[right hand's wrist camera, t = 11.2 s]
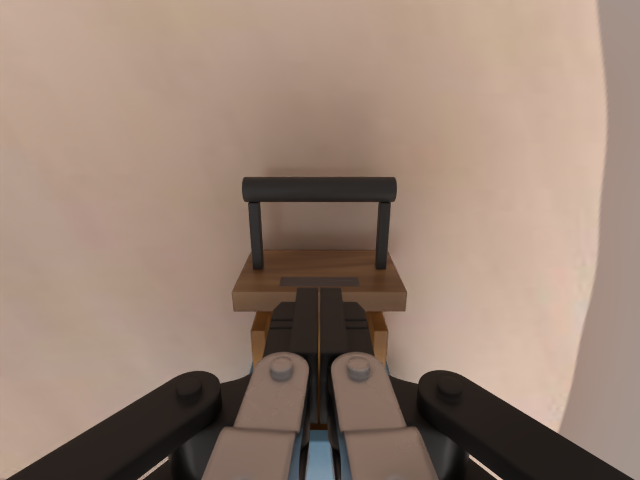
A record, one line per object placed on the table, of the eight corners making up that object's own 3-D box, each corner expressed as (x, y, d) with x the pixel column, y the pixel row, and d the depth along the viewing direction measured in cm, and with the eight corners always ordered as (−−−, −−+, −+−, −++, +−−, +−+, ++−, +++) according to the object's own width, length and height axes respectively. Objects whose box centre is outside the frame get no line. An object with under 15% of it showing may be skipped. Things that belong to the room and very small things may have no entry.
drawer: (245, 168, 23) (221, 188, 17) (393, 168, 23) (416, 189, 17) (264, 428, 30) (251, 501, 25) (375, 428, 30) (387, 501, 25)
